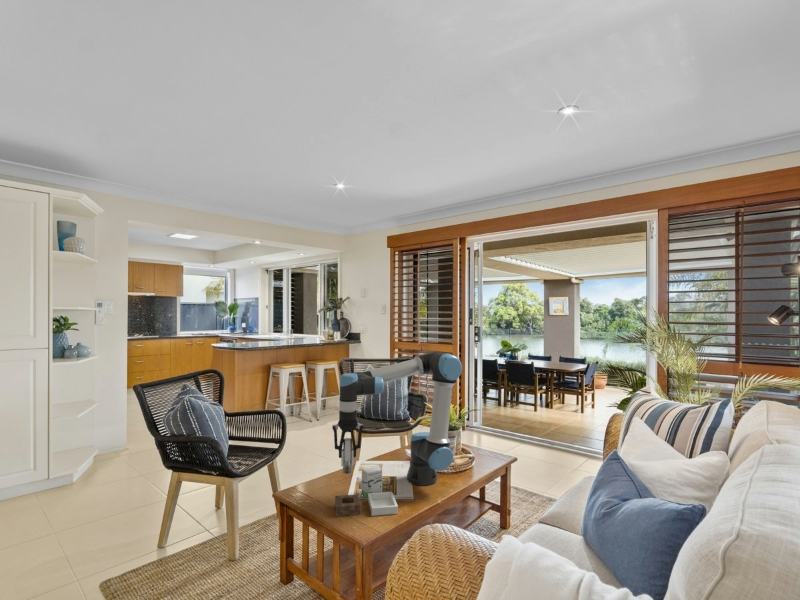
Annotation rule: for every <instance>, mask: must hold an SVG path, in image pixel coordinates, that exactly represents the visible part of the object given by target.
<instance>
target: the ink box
mask: <svg viewBox="0 0 800 600" xmlns="http://www.w3.org/2000/svg"><path fill="white" fill-rule="evenodd" d="M382 492H383V469H382V468H381V467H380V466H379V465H375V466H371V467H366V468H365V467H364V468H363V469H361V494H362V495H363V498H365V499H367V500H368V494H369V493H382ZM362 495H361V496H362Z"/></svg>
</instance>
